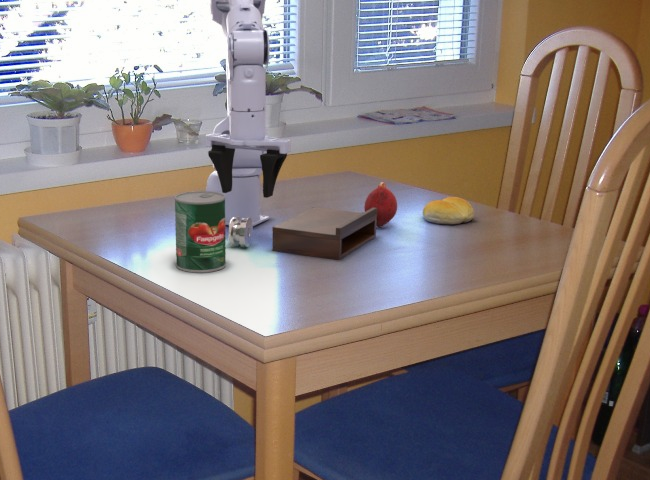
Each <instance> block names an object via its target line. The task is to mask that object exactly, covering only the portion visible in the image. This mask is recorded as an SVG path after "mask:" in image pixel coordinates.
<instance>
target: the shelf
mask: <svg viewBox="0 0 650 480" xmlns="http://www.w3.org/2000/svg"><path fill="white" fill-rule="evenodd" d="M376 223H377V208H375V207H373V208H371V209H369V210H367V211H366V212H365V211H364V212H357V211H350V210H349V211H348V210H339V209H332V208H331V209H330V208H322V207H311V208H309V209H307V210H305V211H303V212H301V213H299V214H296V215H294V216H293V217H290V218H288V219H287V220H284V221H282V222H280V223H278V224H276V225H273V226H272V235H271V236H272V239H271V242H272V243H271V245H272V249H271V251H272V252H279V253H285V254H286V253H287V254H293V255H299V256H300V255H301V256H308V257H315V258H322V259H330V260H336V261H339V260H342V259H343V258H345V257H346V256H348V255H350V254H351V253H353V252H355V251H356V250H358V249H359V248H361V247H363V246H364V245H366V244H368V243H369V242H371V241H372V240H374V239H375V238H376V237H377V226H376Z"/></svg>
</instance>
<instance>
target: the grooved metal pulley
mask: <svg viewBox="0 0 650 480" xmlns="http://www.w3.org/2000/svg"><path fill="white" fill-rule="evenodd" d="M253 229H254V226H253V224H252V219H251V218H250V217H243V218H242V220H241V219H240V217H239V216H235V217H233V218H232V219H231V221H230V224H229V225H228V231H227V232H228V234H227V235H228V237H227V238H228V241H229V244H230V246H231V247H238V246H239V245H240V247H241V248H249V247H250V245H251V243H252V240H253V231H254V230H253Z"/></svg>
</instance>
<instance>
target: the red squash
mask: <svg viewBox="0 0 650 480" xmlns="http://www.w3.org/2000/svg"><path fill="white" fill-rule="evenodd" d="M386 186H387V184H386V183H385V182H384V181H381V182H379V183H378V186H377V187H376V188H375V189H373V190H372V191H371V192H370V193H368V195H367V197H366V199H365V201H364V207H363V208H364V212H366V211H367V210H369V209H371V208H373V207H375V208H377V223H376V228H382V227H384V226H385V225H386V224H388V223H389V222H390V221H391V220H392V219H394V218H395V216H396V214H397V211H398V202H397V201H398V200H397V198H396V196H395V194H394V193H393V192H392V191H391V190H390V189H388V188H387V187H386Z"/></svg>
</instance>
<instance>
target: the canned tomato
mask: <svg viewBox="0 0 650 480" xmlns="http://www.w3.org/2000/svg"><path fill="white" fill-rule="evenodd" d="M173 198H174V222H175V223H174V225H175V261H176V263H175V266H176V268H177V269H178V270H180V271H184V272H186V273H187V272H188V273H197V274H198V273H213V272H217V271H220V270H223V269H225V268H226V266H227V261H226V258H227V257H226V255H227V254H226V253H227V251H226V249H227V248H226V247H227V246H226V243H227V242H226V240H227V238H226V235H227V232H226V225H225V224H226V223H225V198H226V196H225V195H224V194H222V193H218V192H212V191H206V190H192V191H191V190H190V191H185V192H180V193H177V194H176V195H174V197H173Z"/></svg>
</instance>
